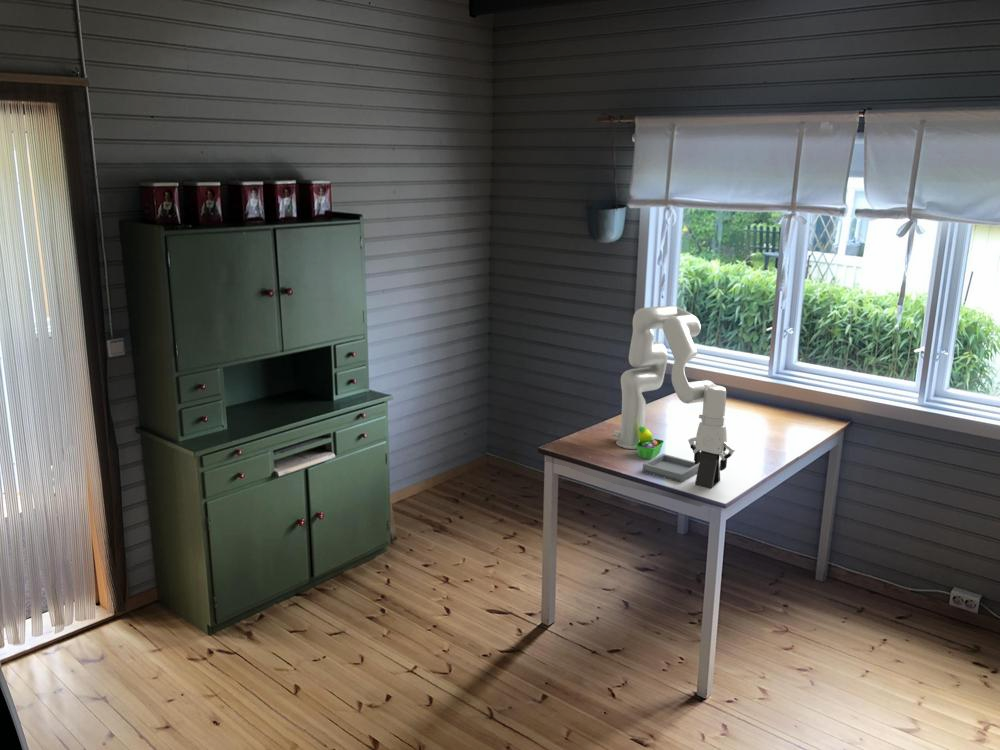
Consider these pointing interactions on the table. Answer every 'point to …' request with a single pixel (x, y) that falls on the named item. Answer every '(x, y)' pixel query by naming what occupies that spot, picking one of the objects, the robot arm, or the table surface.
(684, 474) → the tray
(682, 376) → the robot arm
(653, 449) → the fruit basket
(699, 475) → the phone stand
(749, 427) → the table surface
